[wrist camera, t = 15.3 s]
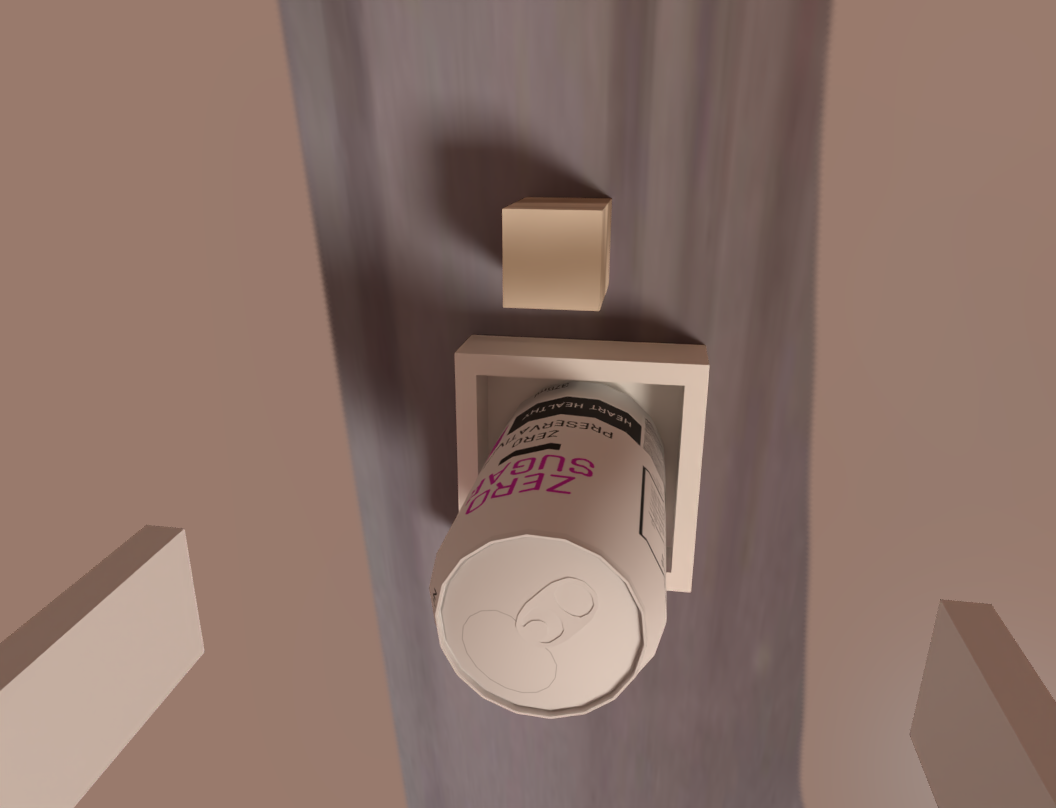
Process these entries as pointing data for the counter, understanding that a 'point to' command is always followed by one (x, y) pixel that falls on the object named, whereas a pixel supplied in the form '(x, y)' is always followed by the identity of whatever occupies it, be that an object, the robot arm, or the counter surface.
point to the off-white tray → (629, 367)
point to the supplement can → (558, 556)
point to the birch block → (556, 253)
